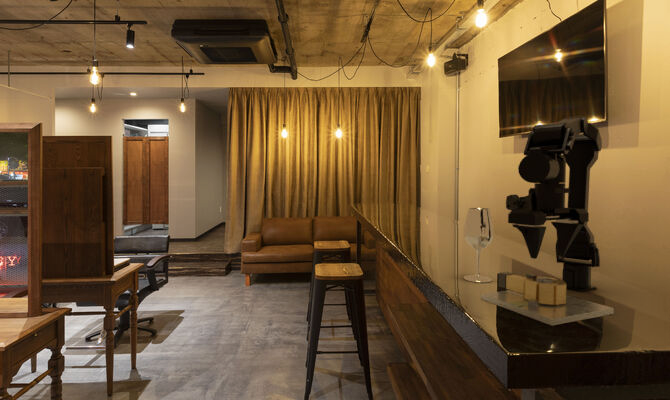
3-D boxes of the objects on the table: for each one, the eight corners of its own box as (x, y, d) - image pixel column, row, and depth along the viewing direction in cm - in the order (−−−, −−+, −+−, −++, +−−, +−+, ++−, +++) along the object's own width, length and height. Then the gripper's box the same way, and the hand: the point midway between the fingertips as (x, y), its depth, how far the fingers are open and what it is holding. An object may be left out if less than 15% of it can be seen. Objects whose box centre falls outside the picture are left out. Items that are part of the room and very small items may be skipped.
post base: (537, 291, 95) (537, 267, 94) (613, 313, 78) (614, 285, 78) (481, 299, 88) (481, 273, 87) (551, 325, 71) (552, 293, 71)
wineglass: (491, 277, 109) (493, 208, 108) (493, 284, 102) (495, 209, 101) (463, 275, 111) (464, 207, 111) (462, 281, 104) (464, 208, 103)
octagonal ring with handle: (514, 284, 95) (515, 266, 95) (573, 302, 81) (574, 280, 80) (490, 287, 92) (490, 268, 91) (547, 306, 78) (547, 284, 77)
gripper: (542, 183, 91) (541, 247, 92) (487, 183, 83) (486, 253, 84) (591, 183, 82) (589, 255, 82) (534, 183, 73) (532, 263, 74)
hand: (547, 256), depth 81 cm, fingers open, 9 cm apart
